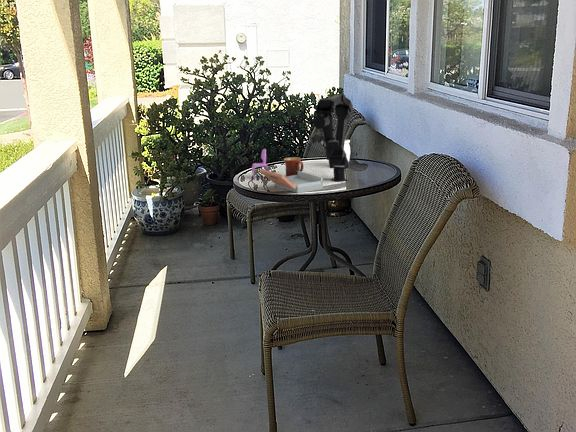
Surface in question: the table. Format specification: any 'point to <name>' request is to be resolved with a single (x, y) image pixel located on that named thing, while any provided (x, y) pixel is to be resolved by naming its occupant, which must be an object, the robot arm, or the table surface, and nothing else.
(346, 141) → the jar
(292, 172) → the mug
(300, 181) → the bed
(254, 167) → the toy chair
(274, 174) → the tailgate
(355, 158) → the table surface
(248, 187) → the table surface
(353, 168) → the table surface
